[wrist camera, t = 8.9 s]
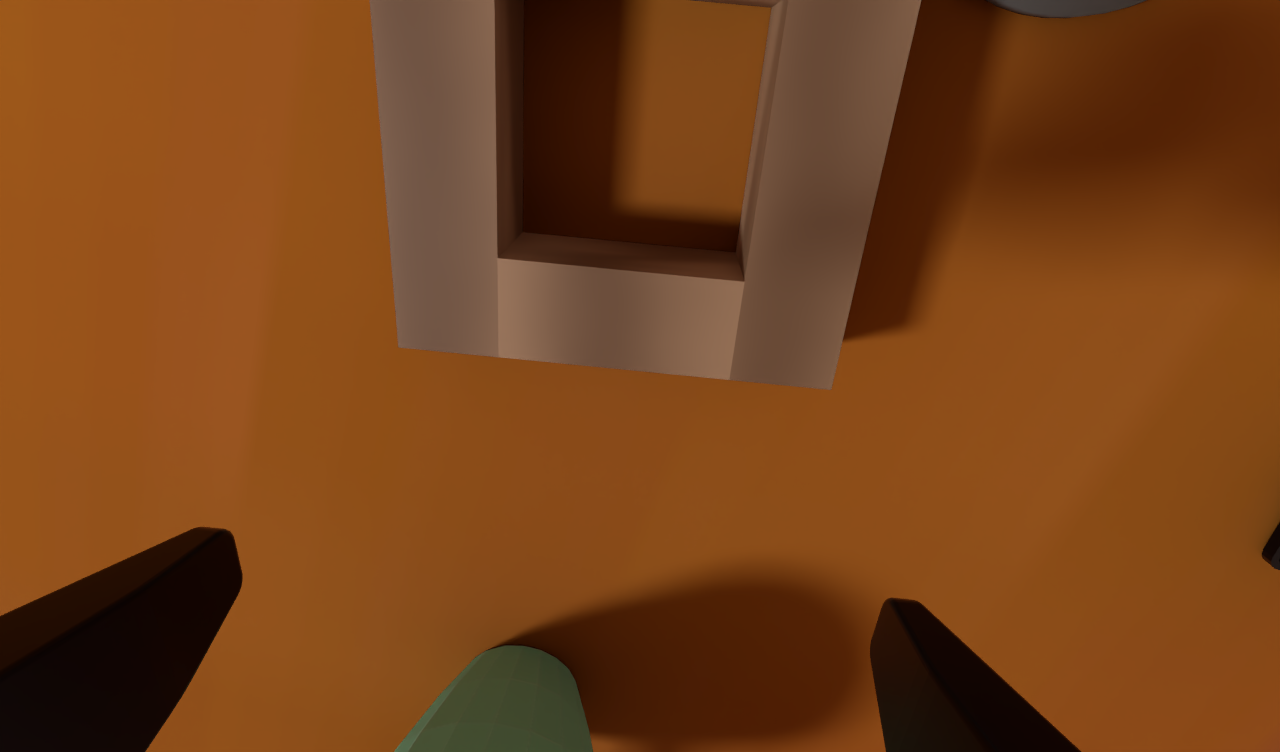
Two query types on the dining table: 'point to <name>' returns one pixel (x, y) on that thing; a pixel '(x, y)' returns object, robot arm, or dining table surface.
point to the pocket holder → (624, 271)
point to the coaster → (1063, 7)
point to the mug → (505, 708)
